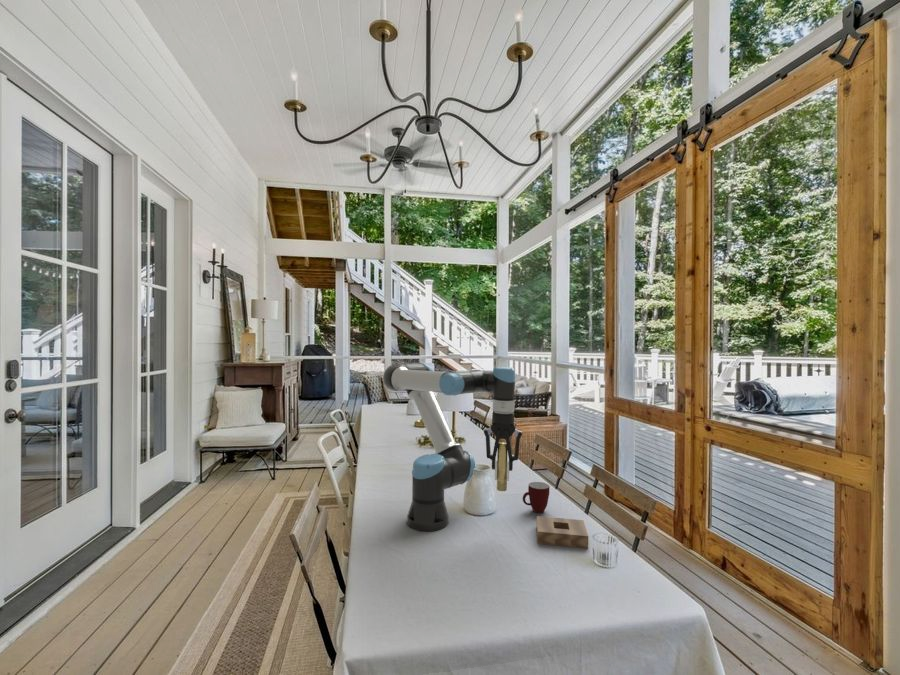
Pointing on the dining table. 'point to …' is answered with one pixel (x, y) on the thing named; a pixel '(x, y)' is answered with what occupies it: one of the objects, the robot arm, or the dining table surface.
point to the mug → (537, 496)
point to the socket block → (562, 532)
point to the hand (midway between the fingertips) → (501, 479)
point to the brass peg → (502, 467)
